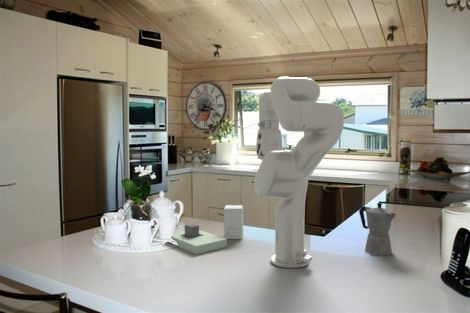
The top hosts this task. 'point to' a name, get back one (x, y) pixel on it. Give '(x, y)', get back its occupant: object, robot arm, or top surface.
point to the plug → (191, 230)
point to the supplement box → (233, 221)
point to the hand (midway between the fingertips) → (268, 173)
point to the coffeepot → (377, 229)
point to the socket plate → (199, 242)
